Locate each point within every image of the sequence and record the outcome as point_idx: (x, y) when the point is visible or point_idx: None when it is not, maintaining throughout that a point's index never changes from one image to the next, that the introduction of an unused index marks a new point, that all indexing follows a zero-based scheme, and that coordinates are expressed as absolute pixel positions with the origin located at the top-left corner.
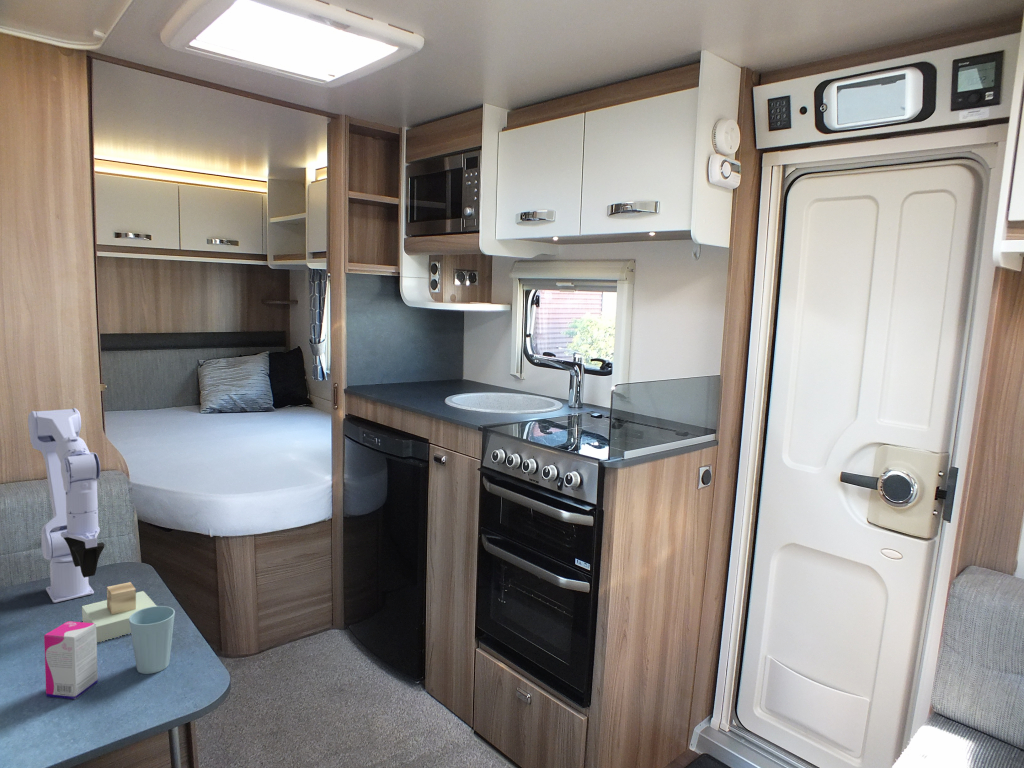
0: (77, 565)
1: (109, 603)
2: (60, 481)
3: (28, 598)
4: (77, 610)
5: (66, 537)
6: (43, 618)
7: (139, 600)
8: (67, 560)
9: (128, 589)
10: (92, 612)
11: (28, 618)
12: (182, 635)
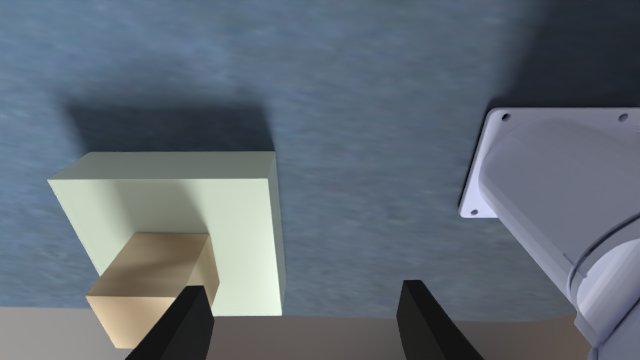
0: (403, 293)
1: (158, 253)
2: None
3: (629, 38)
4: (371, 155)
5: None
6: (386, 53)
7: (215, 298)
8: (599, 257)
9: (122, 335)
10: (188, 193)
11: (429, 2)
12: (70, 295)
